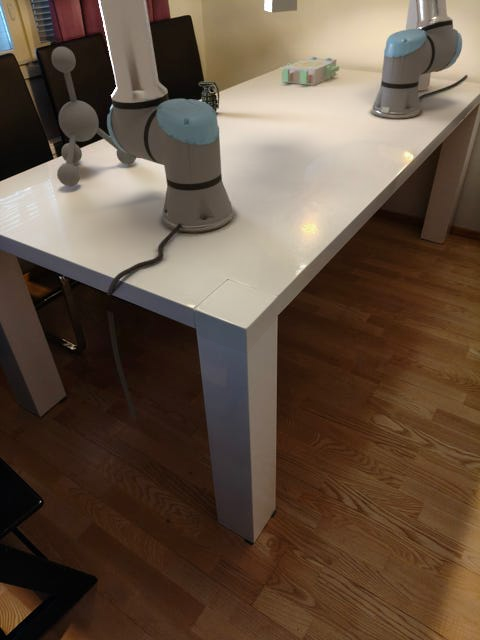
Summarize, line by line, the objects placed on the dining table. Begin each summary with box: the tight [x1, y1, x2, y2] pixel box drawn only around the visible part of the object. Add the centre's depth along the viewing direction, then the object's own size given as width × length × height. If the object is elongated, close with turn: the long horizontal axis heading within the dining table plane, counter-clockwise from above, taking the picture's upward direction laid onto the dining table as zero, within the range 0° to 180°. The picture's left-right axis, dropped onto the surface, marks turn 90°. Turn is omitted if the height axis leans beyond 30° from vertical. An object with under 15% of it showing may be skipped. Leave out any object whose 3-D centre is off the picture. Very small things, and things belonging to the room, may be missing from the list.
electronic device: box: [405, 0, 432, 92], centre depth 176 cm, size 12×8×30 cm, turn 105°
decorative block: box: [281, 56, 340, 86], centre depth 204 cm, size 26×6×20 cm
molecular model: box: [50, 46, 137, 187], centre depth 124 cm, size 24×22×30 cm
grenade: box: [197, 81, 220, 113], centre depth 169 cm, size 7×6×10 cm
